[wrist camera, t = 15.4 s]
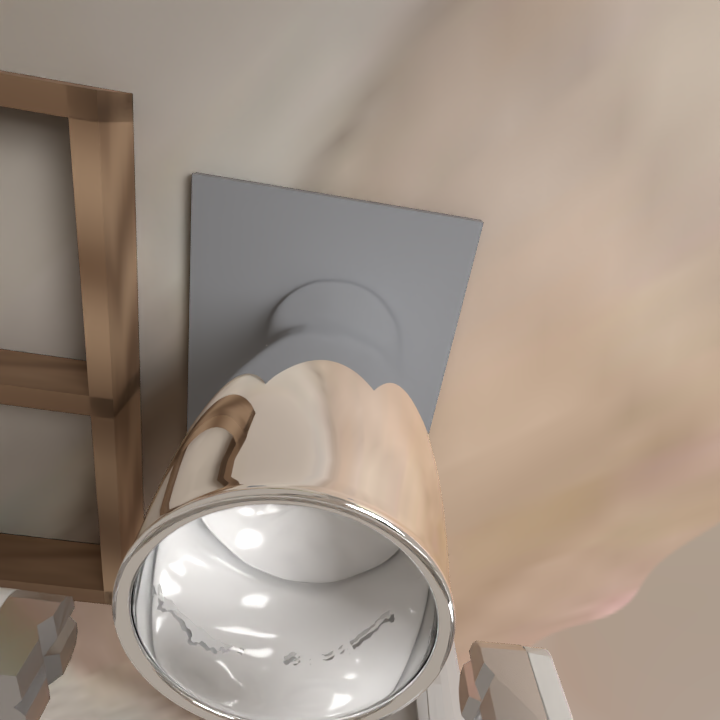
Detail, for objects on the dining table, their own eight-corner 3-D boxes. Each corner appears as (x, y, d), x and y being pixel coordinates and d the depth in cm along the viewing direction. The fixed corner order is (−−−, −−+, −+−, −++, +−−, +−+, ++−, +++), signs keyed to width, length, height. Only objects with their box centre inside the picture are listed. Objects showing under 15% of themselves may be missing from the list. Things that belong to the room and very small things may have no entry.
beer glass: (382, 247, 22) (407, 432, 8) (426, 387, 24) (503, 710, 11) (232, 297, 23) (24, 538, 9) (290, 427, 25) (197, 769, 12)
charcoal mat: (196, 172, 21) (191, 173, 20) (480, 219, 22) (483, 222, 21) (190, 450, 27) (186, 457, 26) (413, 479, 28) (414, 487, 27)
